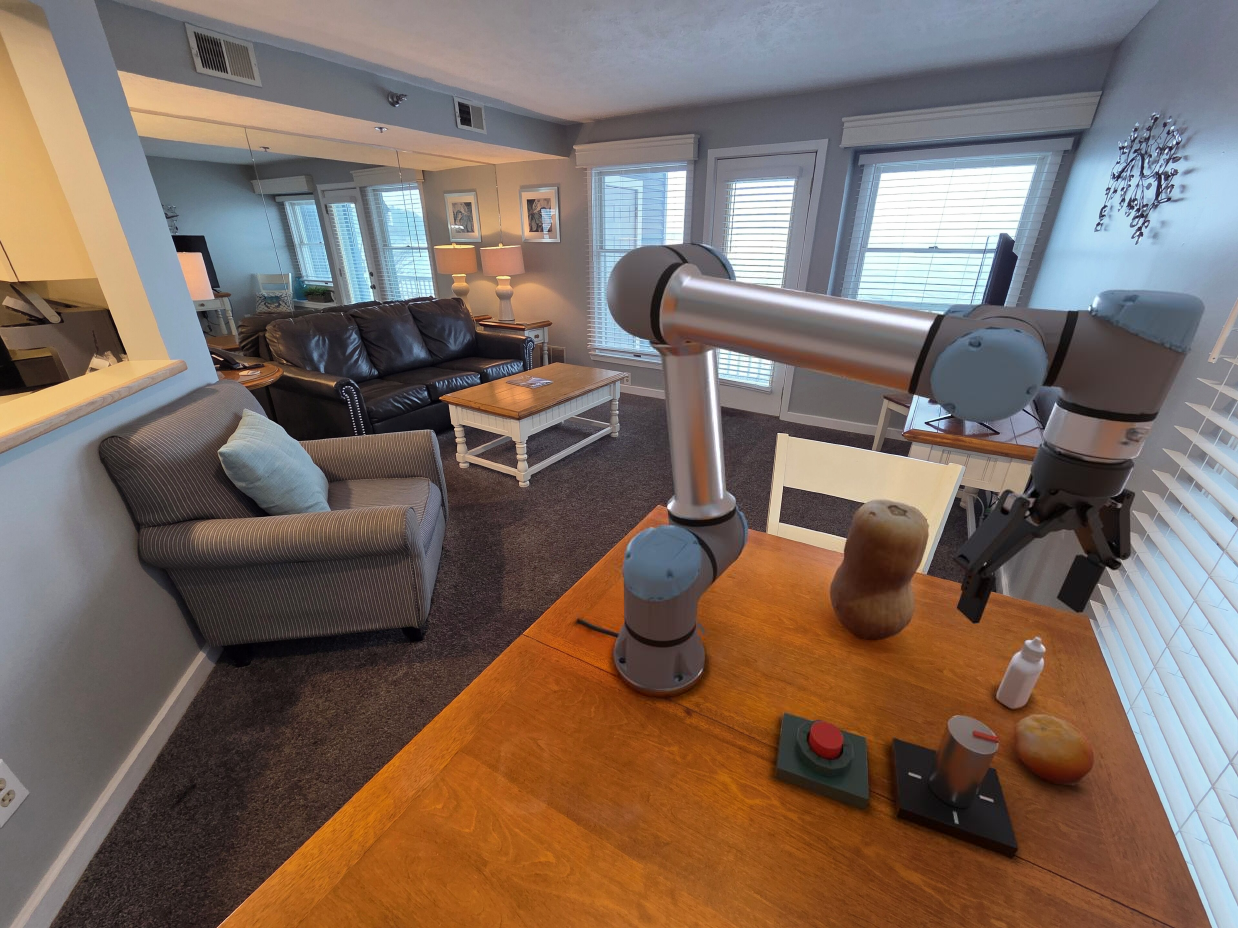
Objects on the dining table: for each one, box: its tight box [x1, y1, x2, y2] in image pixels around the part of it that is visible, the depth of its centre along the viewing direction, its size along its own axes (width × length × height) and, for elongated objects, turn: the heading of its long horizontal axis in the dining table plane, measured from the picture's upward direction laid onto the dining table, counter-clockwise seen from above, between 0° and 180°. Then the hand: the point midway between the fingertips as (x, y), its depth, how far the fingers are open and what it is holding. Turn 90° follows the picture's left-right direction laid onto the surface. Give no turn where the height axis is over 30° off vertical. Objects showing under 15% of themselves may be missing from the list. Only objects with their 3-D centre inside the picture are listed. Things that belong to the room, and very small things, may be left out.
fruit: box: [1013, 713, 1095, 787], centre depth 66 cm, size 8×8×8 cm
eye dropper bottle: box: [995, 636, 1046, 710], centre depth 75 cm, size 4×6×12 cm
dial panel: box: [889, 737, 1019, 859], centre depth 63 cm, size 12×10×2 cm
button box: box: [774, 711, 870, 811], centre depth 67 cm, size 11×9×4 cm
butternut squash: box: [829, 498, 930, 642], centre depth 86 cm, size 14×13×25 cm
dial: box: [927, 715, 1000, 808], centre depth 61 cm, size 5×5×10 cm
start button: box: [809, 720, 843, 759], centre depth 66 cm, size 4×4×2 cm
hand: (1018, 610), depth 61 cm, fingers open, 13 cm apart
